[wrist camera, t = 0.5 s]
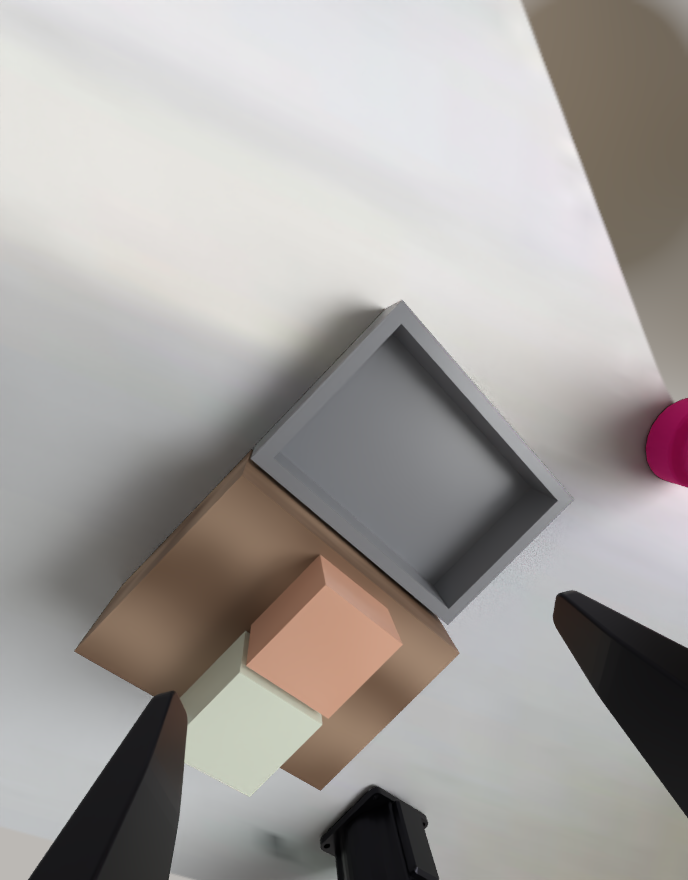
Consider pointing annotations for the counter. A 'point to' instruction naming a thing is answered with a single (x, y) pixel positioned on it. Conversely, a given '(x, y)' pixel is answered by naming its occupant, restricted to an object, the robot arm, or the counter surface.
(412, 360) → the box
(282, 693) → the tile sage
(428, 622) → the brown wooden block
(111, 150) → the counter surface
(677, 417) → the pepper mill
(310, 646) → the tile terracotta
